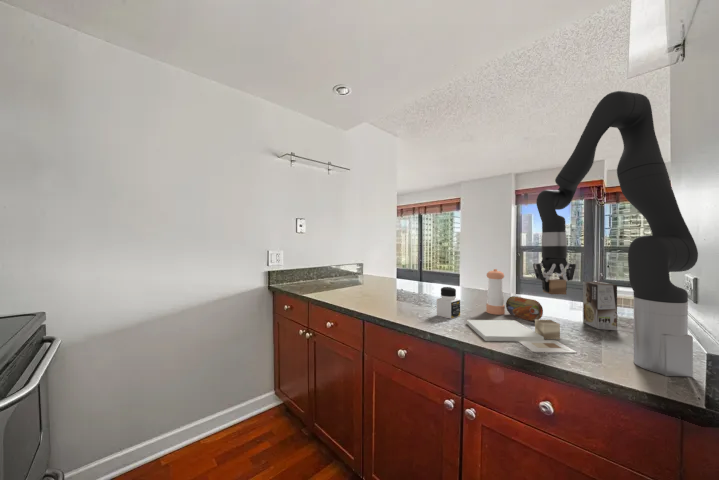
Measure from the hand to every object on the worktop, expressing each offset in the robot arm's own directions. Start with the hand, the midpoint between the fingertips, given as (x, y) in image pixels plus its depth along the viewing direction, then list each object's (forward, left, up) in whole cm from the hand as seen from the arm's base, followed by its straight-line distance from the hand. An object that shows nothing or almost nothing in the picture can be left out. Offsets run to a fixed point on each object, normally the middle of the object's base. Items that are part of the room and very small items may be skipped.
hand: (554, 291), depth 101 cm
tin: (+13, +4, -14) cm, 19 cm away
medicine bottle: (+15, +34, -13) cm, 39 cm away
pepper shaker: (+21, +12, -13) cm, 28 cm away
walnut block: (0, 0, -1) cm, 1 cm away
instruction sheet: (-18, +14, -13) cm, 26 cm away
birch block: (-9, +8, -13) cm, 18 cm away
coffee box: (+3, -18, -13) cm, 23 cm away
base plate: (-5, +21, -13) cm, 25 cm away
